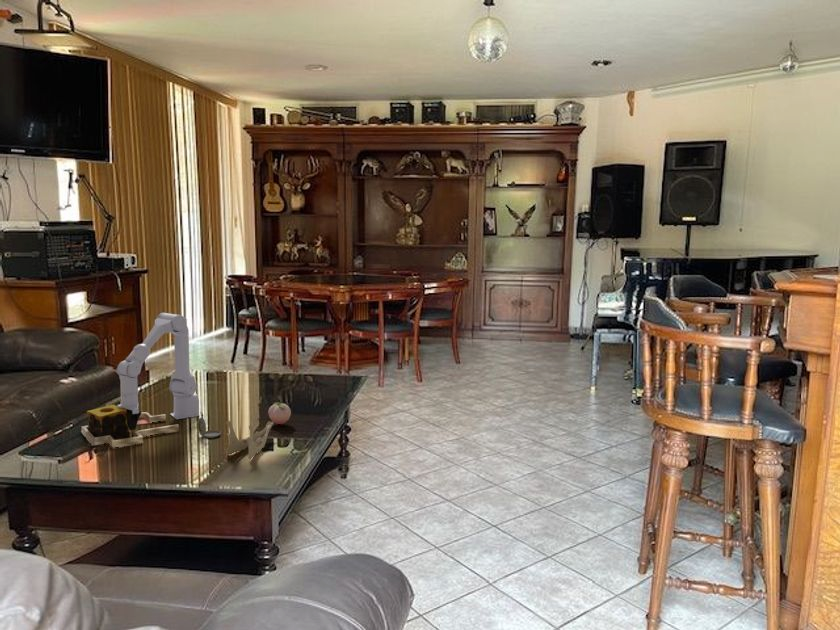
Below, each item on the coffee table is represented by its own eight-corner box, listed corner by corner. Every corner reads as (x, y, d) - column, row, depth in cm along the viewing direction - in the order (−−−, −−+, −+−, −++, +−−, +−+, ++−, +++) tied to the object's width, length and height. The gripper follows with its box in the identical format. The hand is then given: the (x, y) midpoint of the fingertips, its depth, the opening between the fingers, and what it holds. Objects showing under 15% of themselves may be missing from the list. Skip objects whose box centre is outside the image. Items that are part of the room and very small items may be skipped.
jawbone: (251, 462, 206) (248, 422, 205) (225, 460, 209) (222, 421, 208) (284, 441, 230) (282, 405, 229) (261, 440, 233) (259, 404, 232)
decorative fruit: (295, 425, 247) (295, 402, 245) (277, 429, 241) (278, 405, 239) (281, 420, 253) (282, 397, 252) (264, 424, 247) (265, 400, 246)
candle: (101, 443, 216) (99, 416, 214) (87, 437, 222) (85, 410, 220) (129, 435, 224) (127, 409, 223) (114, 429, 230) (112, 403, 228)
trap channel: (159, 415, 250) (159, 410, 249) (184, 436, 228) (184, 429, 228) (77, 428, 230) (77, 421, 230) (96, 451, 209) (96, 444, 208)
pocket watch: (224, 434, 232) (224, 409, 231) (209, 441, 224) (209, 415, 223) (206, 431, 235) (206, 406, 233) (191, 437, 227) (191, 411, 225)
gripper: (111, 389, 229) (112, 424, 231) (123, 398, 218) (124, 434, 220) (131, 387, 234) (132, 421, 236) (144, 395, 223) (145, 431, 225)
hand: (130, 427), depth 228 cm, fingers open, 5 cm apart
